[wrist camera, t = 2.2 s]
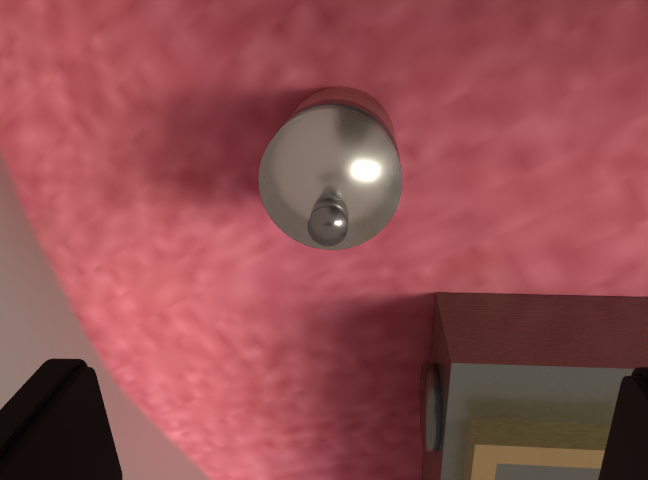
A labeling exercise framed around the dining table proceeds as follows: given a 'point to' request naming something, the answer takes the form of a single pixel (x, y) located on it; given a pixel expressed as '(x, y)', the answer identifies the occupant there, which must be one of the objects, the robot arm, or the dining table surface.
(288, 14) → the dining table surface
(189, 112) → the dining table surface
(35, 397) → the robot arm
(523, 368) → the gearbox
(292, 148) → the silver lidded pot
